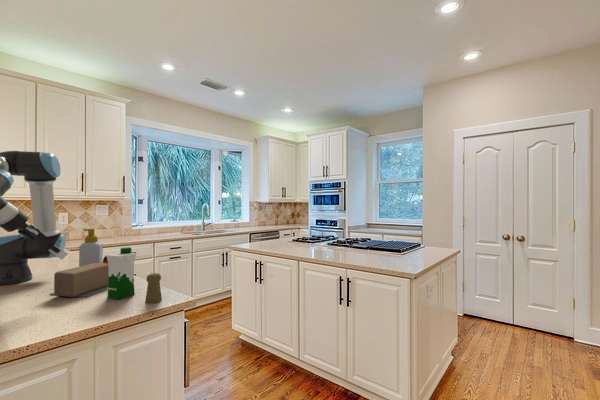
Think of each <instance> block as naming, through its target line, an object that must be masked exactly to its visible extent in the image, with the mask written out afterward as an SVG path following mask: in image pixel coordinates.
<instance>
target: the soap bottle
mask: <svg viewBox="0 0 600 400" xmlns="http://www.w3.org/2000/svg"><path fill="white" fill-rule="evenodd" d="M82 231H83V232H85V231H86V232H88V234H87V235H86V237H85V238H84V242H82V243H81V244H80V245H79V251H78V256H79V257H78V263H79V264H78V267H80V266H84V265H89V264H93V263H103V259H104V257H103V255H104V253H103V251H104V250H103V246H104V245H103V242H101V241H99V238H98V236H97V235H96V234H95V228H83V229H82Z"/></svg>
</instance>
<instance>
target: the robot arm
mask: <svg viewBox="0 0 600 400" xmlns="http://www.w3.org/2000/svg"><path fill="white" fill-rule="evenodd" d="M61 170H62V169H61V163H60V161H59V159H58V157H57V156H56V155H55V154H54V153H52V152H51V153H50V152H45V151H21V150H9V151H8V150H7V151H1V152H0V228H1V229H3V230H4V231H6V232H8V233H11V232H14V231H17V233H15V234H8V235H7V234H6V235H3V236H0V286H8V285H13V284H14V285H15V284H20V283H25V282H27V281H31V280H32V279H33V273H32V271H31V269H30V266H29V264H28V260H32V259H37V260H38V259H53V258H58V259H60V260H63V259H65V258H66V256H68V254H69V253H67V251H64V250H65V248H66V247H65V246H66V242H67V238H66V235H65V234H63V233H61V230H60V229H58V228H57V221H56V210H55V209H56V208H55V207H56V206H55V197H54V182H55V181H57V178H58V177H60V176H61ZM13 176H15V177H16V176H18V177H19V176H20V177H23V178H24V181H25V182H26V183H28V184H29V190H30V191H29V194H30V195H29V196H30V203H31V212H32V213H31V214H32V221H33V223H32V224H33V225H32V224H29V223H27V222H28V220H29V219H30V218H29V216H28V215H27V214H26V213H24V212H23V211H21V210H19V208H18V207H16V206H14V205H13V204H12V203H11V202H9V201H7V200H6V199H5V198H4V197H3V196H4V195H5V194H6V193H7V192H8V191H9V190H10V189H11V187H12V185H13V184H14V182H15V180H14V179H15V178H14V177H13Z"/></svg>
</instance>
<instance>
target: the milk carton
mask: <svg viewBox="0 0 600 400" xmlns="http://www.w3.org/2000/svg"><path fill="white" fill-rule="evenodd" d="M106 255H107V260H108V290H107V299H113V300H116V301H117V300H118V301H121V300H124V299H127V298H129V297H133V296H135V295H136V294H135V260H136V256H137V252H132V247H121V248H120V252H114V253H110V254H106Z"/></svg>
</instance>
